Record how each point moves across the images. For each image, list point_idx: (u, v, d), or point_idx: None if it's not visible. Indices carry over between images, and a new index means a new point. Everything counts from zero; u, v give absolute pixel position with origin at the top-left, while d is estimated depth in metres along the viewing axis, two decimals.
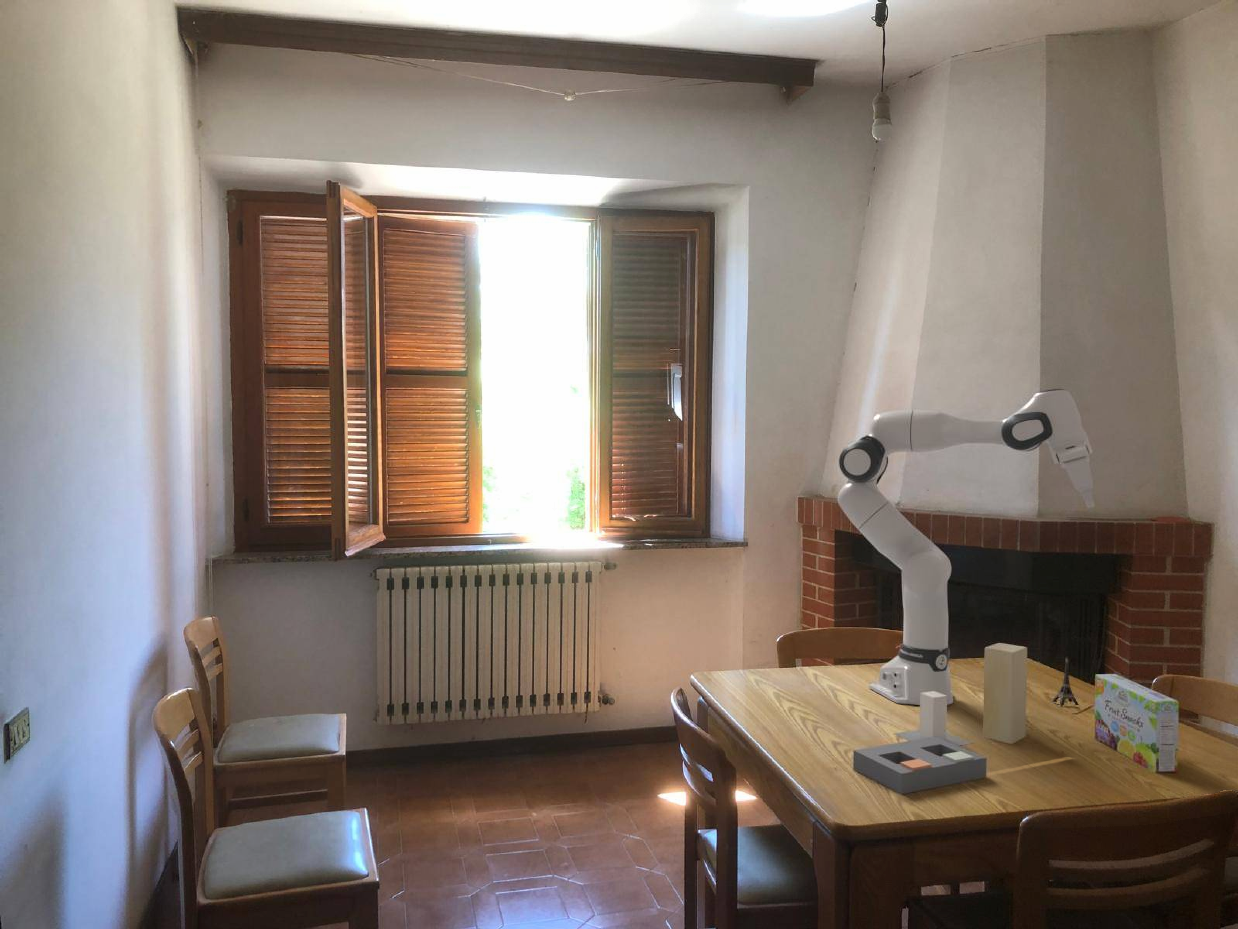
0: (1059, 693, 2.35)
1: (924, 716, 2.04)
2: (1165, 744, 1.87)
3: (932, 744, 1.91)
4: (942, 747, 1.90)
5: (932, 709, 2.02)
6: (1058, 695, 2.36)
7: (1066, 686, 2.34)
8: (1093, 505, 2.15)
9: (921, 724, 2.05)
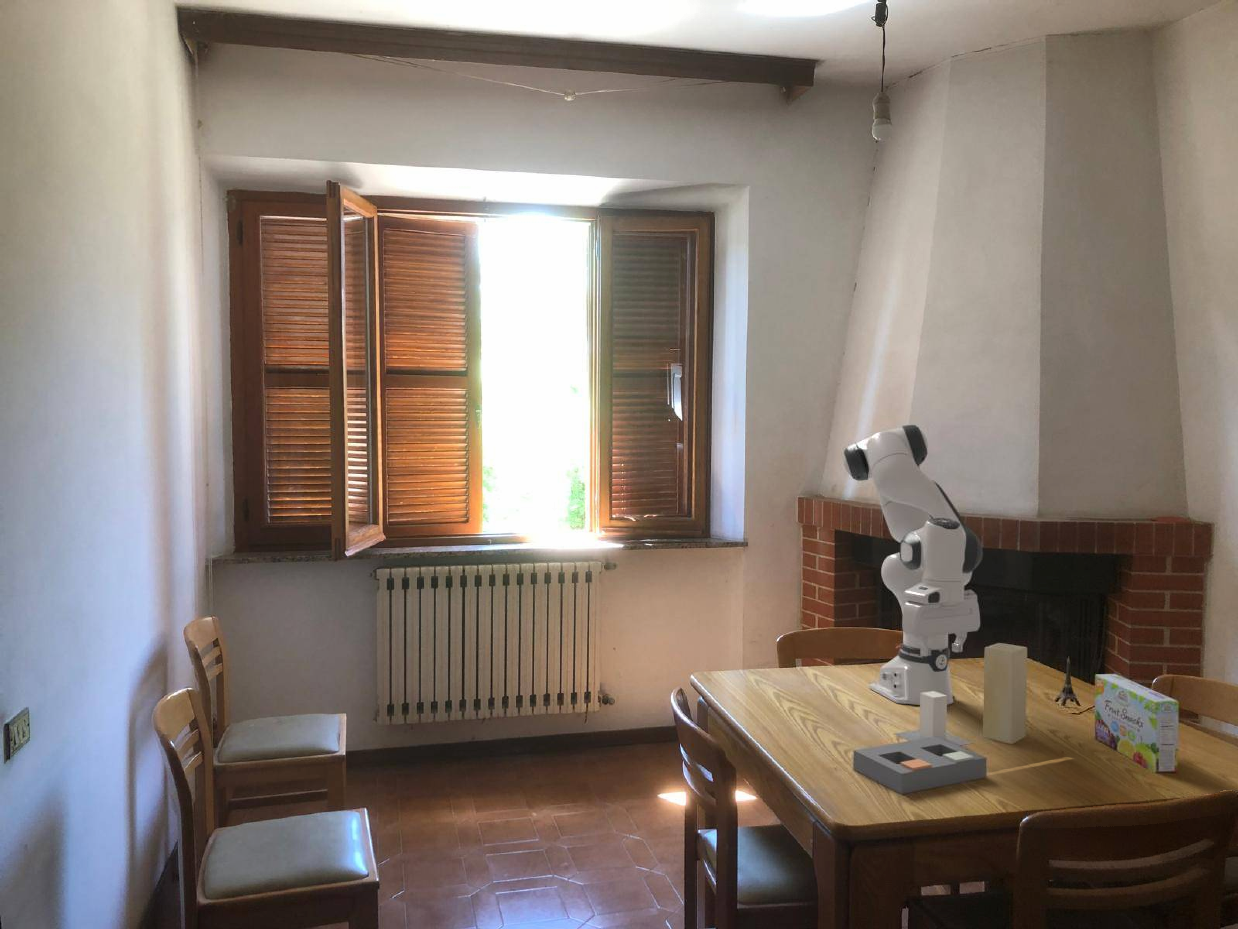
0: (1061, 693, 2.35)
1: (924, 716, 2.04)
2: (1165, 744, 1.87)
3: (932, 744, 1.91)
4: (942, 747, 1.90)
5: (932, 709, 2.02)
6: (1060, 695, 2.35)
7: (1068, 686, 2.34)
8: (925, 654, 2.01)
9: (921, 724, 2.05)
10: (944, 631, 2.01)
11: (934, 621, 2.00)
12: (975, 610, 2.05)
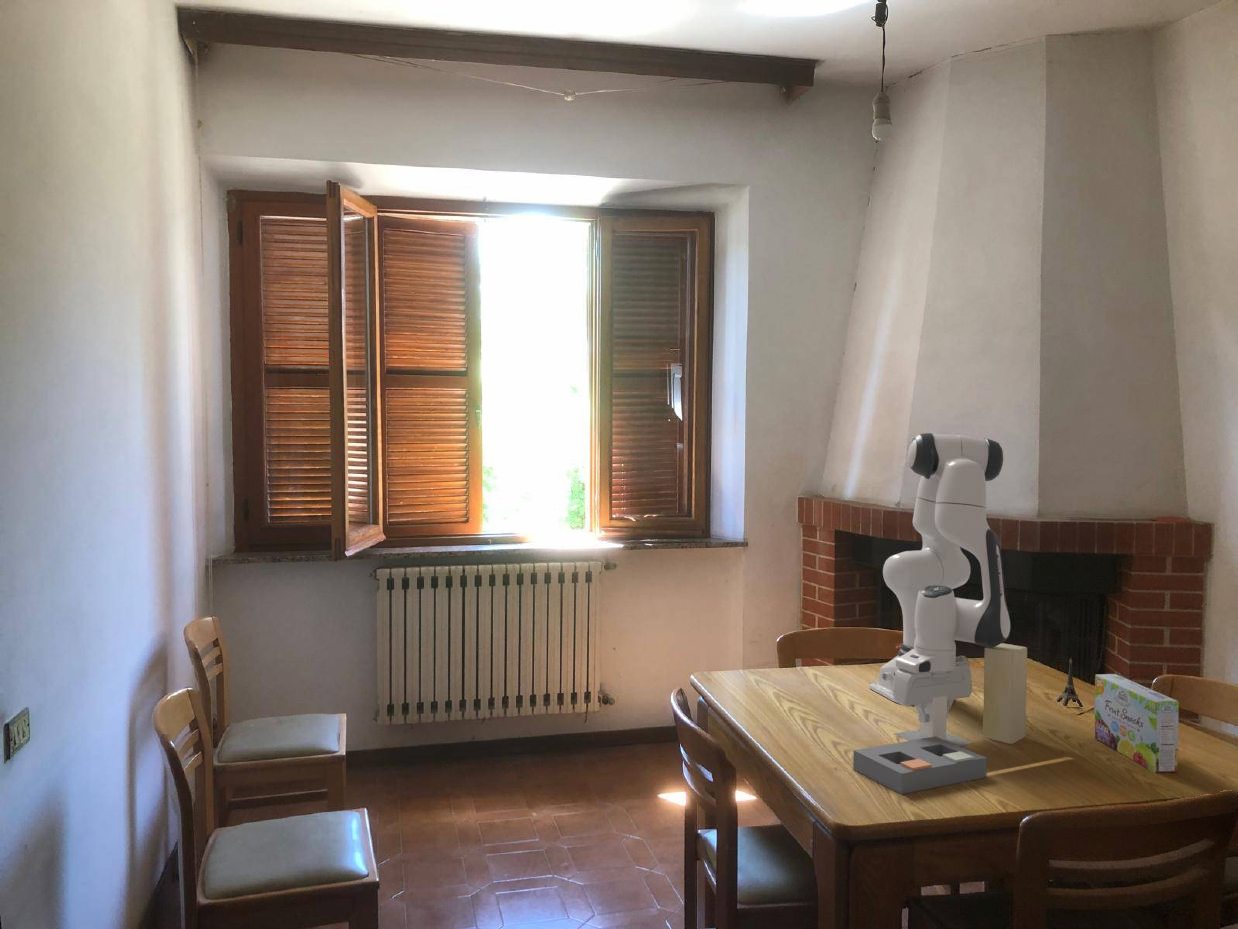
0: (1063, 694, 2.35)
1: None
2: (1165, 744, 1.87)
3: (932, 744, 1.91)
4: (942, 747, 1.90)
5: (932, 709, 2.02)
6: (1062, 696, 2.35)
7: (1070, 687, 2.33)
8: (923, 721, 2.03)
9: (921, 724, 2.05)
10: None
11: (925, 689, 2.01)
12: (967, 677, 2.06)
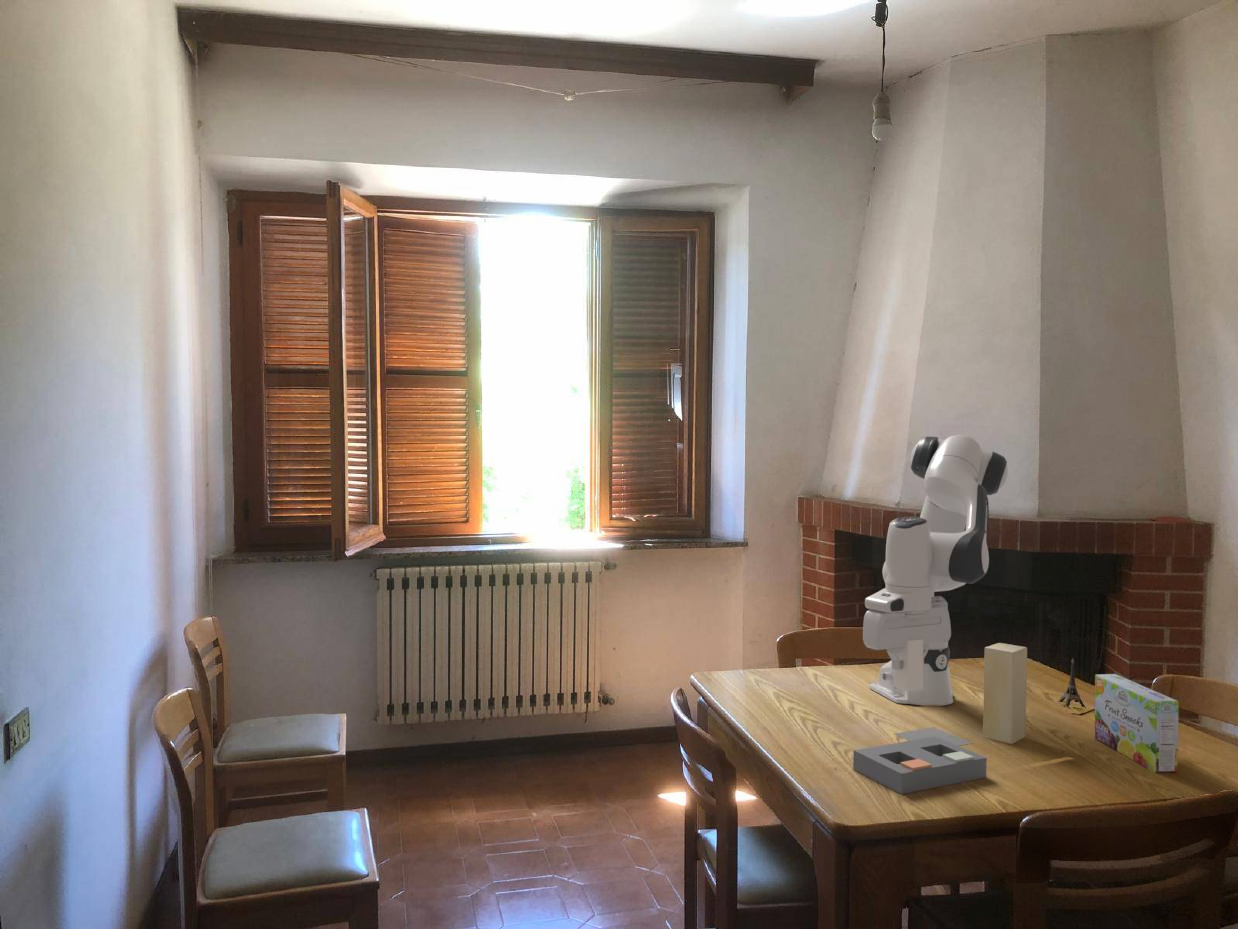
0: (1065, 694, 2.35)
1: None
2: (1165, 744, 1.87)
3: (932, 744, 1.91)
4: (942, 747, 1.90)
5: (907, 654, 1.80)
6: (1064, 696, 2.35)
7: (1072, 687, 2.33)
8: (896, 667, 1.81)
9: (895, 672, 1.83)
10: None
11: (898, 631, 1.79)
12: (944, 619, 1.84)
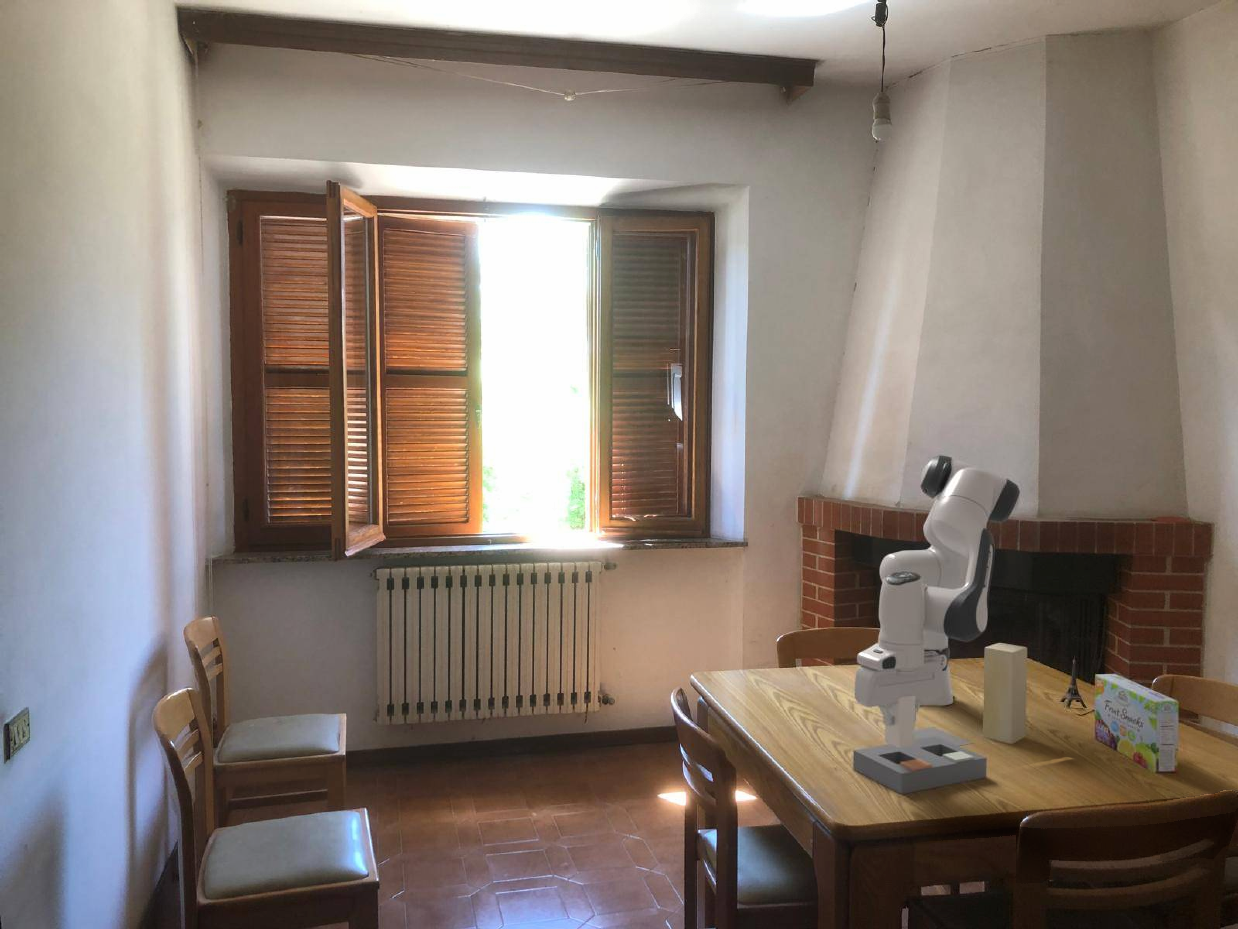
0: (1066, 694, 2.34)
1: None
2: (1165, 744, 1.87)
3: (932, 744, 1.91)
4: (942, 747, 1.90)
5: (898, 710, 1.80)
6: (1065, 696, 2.34)
7: (1073, 687, 2.33)
8: (888, 723, 1.80)
9: (887, 727, 1.83)
10: None
11: (890, 688, 1.79)
12: (937, 675, 1.84)
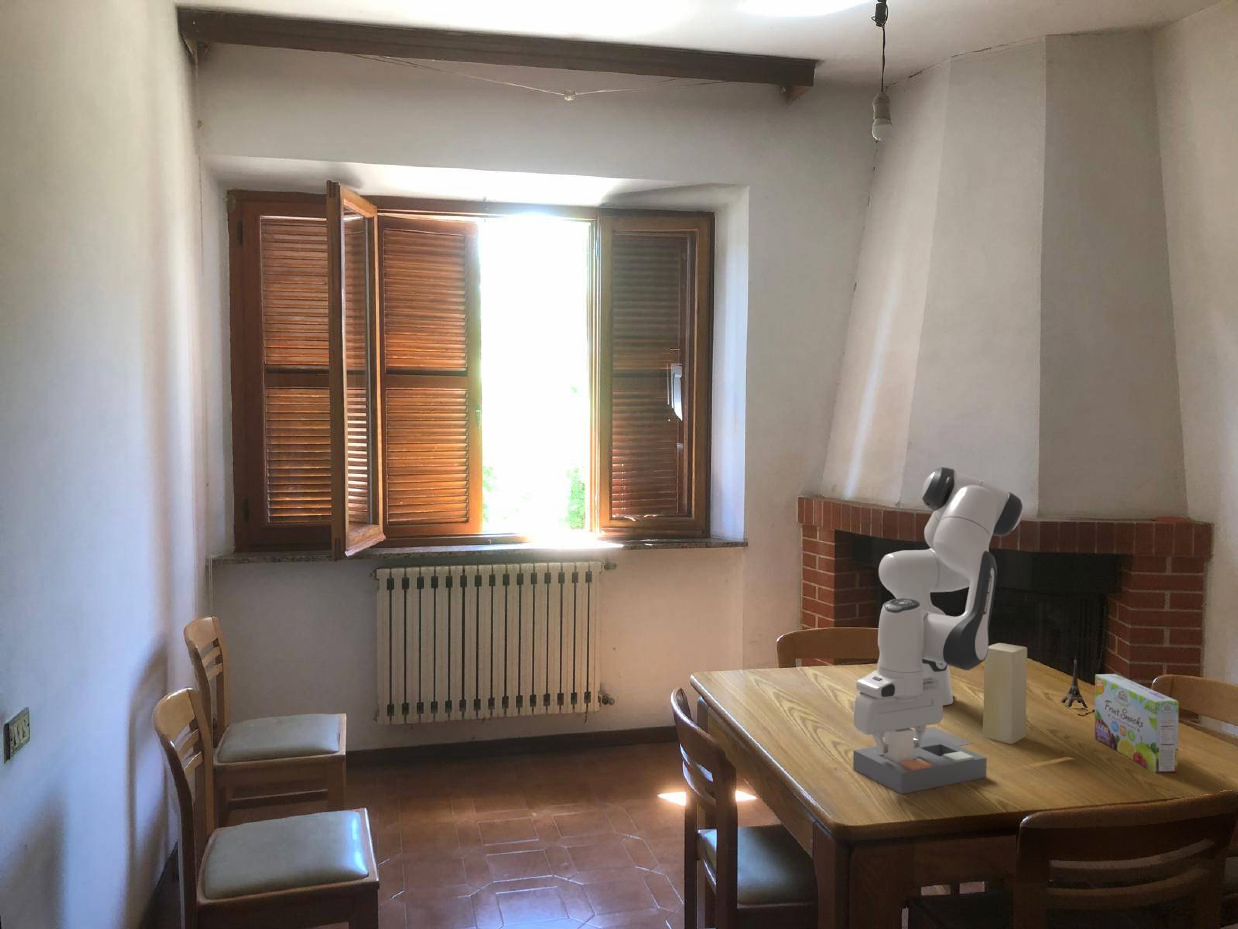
0: (1067, 694, 2.34)
1: (889, 753, 1.82)
2: (1165, 744, 1.87)
3: (932, 744, 1.91)
4: (942, 747, 1.90)
5: (897, 745, 1.80)
6: (1066, 696, 2.34)
7: (1074, 688, 2.33)
8: (881, 751, 1.80)
9: None
10: (901, 726, 1.80)
11: (889, 715, 1.79)
12: (937, 701, 1.84)
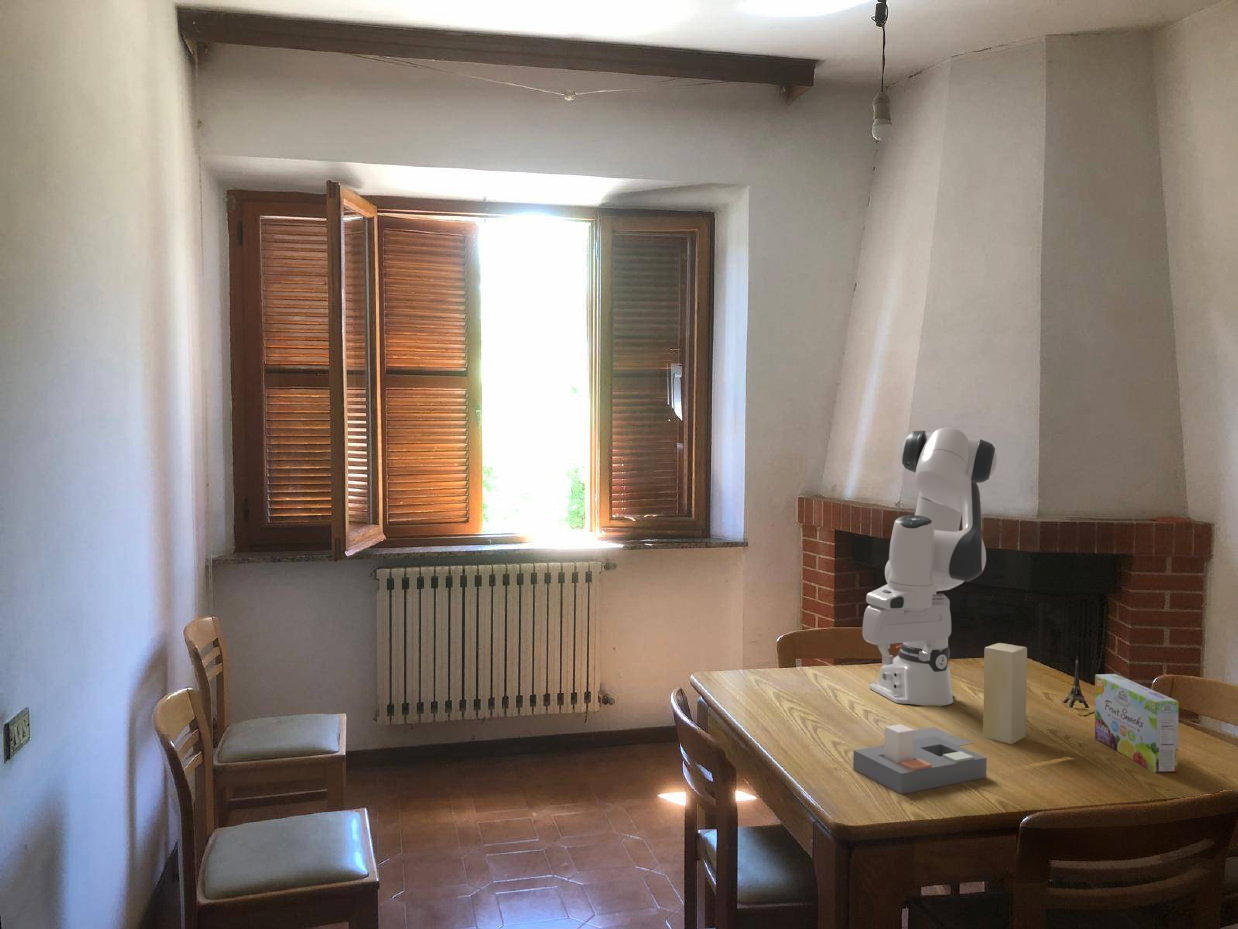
0: (1069, 695, 2.34)
1: (889, 753, 1.82)
2: (1165, 744, 1.87)
3: (932, 744, 1.91)
4: (942, 747, 1.90)
5: (897, 745, 1.80)
6: (1068, 697, 2.34)
7: (1076, 688, 2.32)
8: (886, 663, 1.85)
9: None
10: (909, 638, 1.85)
11: (897, 627, 1.84)
12: (945, 617, 1.88)
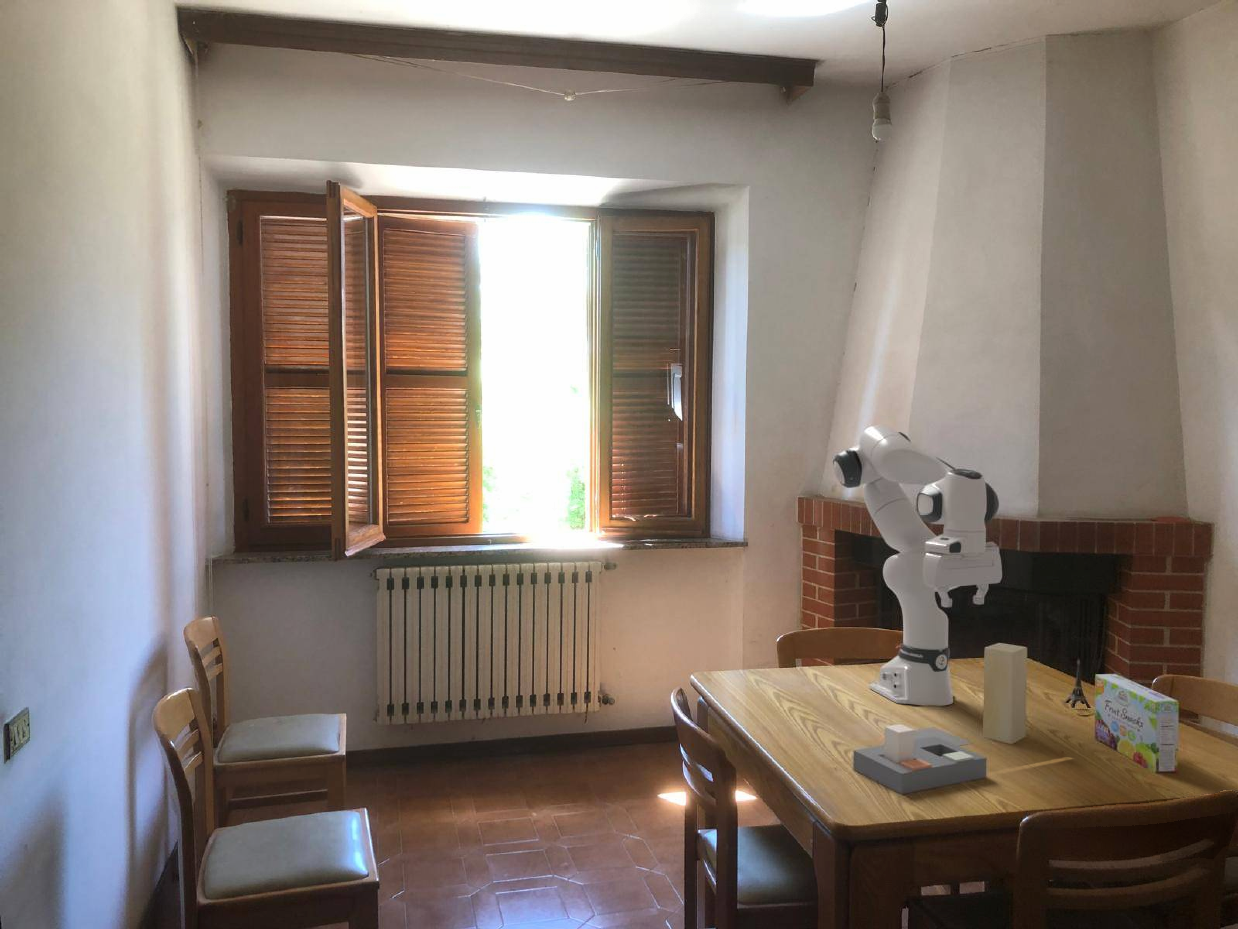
0: (1071, 695, 2.34)
1: (889, 753, 1.82)
2: (1165, 744, 1.87)
3: (932, 744, 1.91)
4: (942, 747, 1.90)
5: (897, 745, 1.80)
6: (1070, 697, 2.34)
7: (1078, 688, 2.32)
8: (946, 605, 1.99)
9: None
10: (966, 582, 2.00)
11: (955, 571, 1.98)
12: (997, 562, 2.03)
